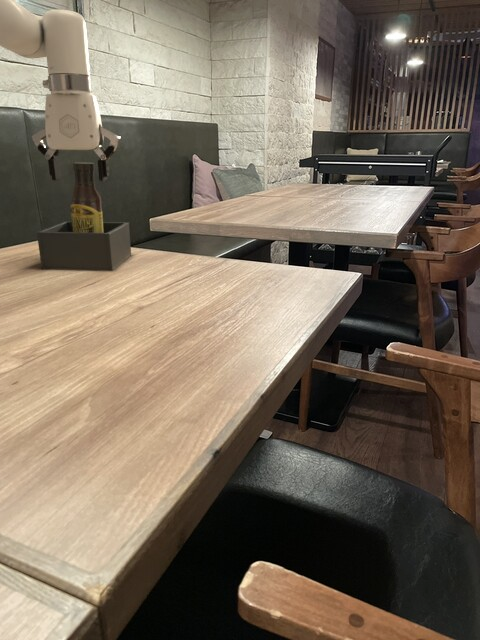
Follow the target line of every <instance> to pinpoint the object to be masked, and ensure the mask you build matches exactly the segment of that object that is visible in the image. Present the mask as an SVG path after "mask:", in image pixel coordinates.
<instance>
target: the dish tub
mask: <svg viewBox="0 0 480 640" xmlns="http://www.w3.org/2000/svg"><path fill="white" fill-rule="evenodd" d="M130 231H131V230H130V222H124V221H123V222H121V221H119V222H117V221H115V222H114V221H103V232H104V233H85V232H72V221H66V220H65V221H62V222H60V223H57V224H55V225H52V226H49V227H47V228H44V229H42V230H39V231H36V235H37V236H36V237H37V243H38V251H39V259H40V266H41V270H53V271H54V270H58V271H61V270H62V271H97V272H98V271H100V272H101V271H103V272H113V271H114V270H115V269H117V268H118V267H119V266H120V265H122V264H123V263H124V262H126V261H127V260H128V259H129V258H130V257H132V249H131V248H132V247H131V233H130Z"/></svg>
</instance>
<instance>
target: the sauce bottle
mask: <svg viewBox="0 0 480 640" xmlns="http://www.w3.org/2000/svg"><path fill="white" fill-rule="evenodd" d="M72 165H73V166H72V169H73V171H74V179H75V180H74V181H75V182H74V187H73V188H74V189H73V193H72V198H71V202H70V221H71V222H72V232H85V233H104V232H103V222H104V217H103V208H102V197H101V195H100V193H99V191H98V190H97V188H96V182H95V168H96V167H95V163H94V162H87V161H85V162H84V161H75V162H73V163H72Z"/></svg>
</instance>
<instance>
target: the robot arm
mask: <svg viewBox="0 0 480 640" xmlns="http://www.w3.org/2000/svg"><path fill="white" fill-rule="evenodd" d="M87 34H88V33H87V23H86V20H85V17H83V15H82V14H80V13H79V12H76V11H73V10H70V9H59V8H57V9H50V10H47V11H45V12H44V14H43V15H37V14H35V13H33V12H31V11H30V10H28V9H27V8H26V7H24V6H23V5H21V4H20V3H18V2H17V1H16V0H0V47H2V48H3V49H5V50H7V51H10V52H12V53H14V54H16V55H17V56H20V57H23V58H25V59H41V58H46V66H47V73H48V75H47V79H45V80H44V79H43V80H42V86H43V89H48V91H49V92H50V93H46V94H45V103H44V104H45V106H44V119H45V120H44V123H45V124H44V126H45V127H44V128H43V129H41V130H39V131H38V132H36V133H34V134H33V135H31V139H32V141H33V142H34V144H35V146H36V147H37V150H38V151H39V153H41V154H42V155H43V156H44V158H45V159H46V160H47V163H48V171H49V176H50V177H51V180H52V181H59V180H60V181H61V180H62V179H63V178H62V168H61V160H60V159H59V158H58V156H59V155H60V153H61V151H63V150H65V151H69V150H70V151H89V150H93V152H94V153H95V154H96V156H98V158H99V159H98V160H97V170H98V180H99V181H100V182H106V181H108V179H109V178H108V177H110V165H109V160H110V159H111V157H112V156H113V155H114V154H115V152H116V151H117V147H118V146H119V143H120V141H121V136H119V135H118V134H116V133H114V132H112V131H110V130H109V129H106V128H105V127H104V126H103V124H102V117H101V112H100V109H99V104H98V100H97V97H96V95H94V94H93V92H92V91H93V90H92V80H91V79H92V78H91V69H90V57H89V45H88V35H87ZM45 138H46V144H45V142H44V139H45ZM104 138H107V139H108V140H109V144H108V147H106V149H105V147H104V145H105V144H104V143H105V141H104V140H105V139H104Z"/></svg>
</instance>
